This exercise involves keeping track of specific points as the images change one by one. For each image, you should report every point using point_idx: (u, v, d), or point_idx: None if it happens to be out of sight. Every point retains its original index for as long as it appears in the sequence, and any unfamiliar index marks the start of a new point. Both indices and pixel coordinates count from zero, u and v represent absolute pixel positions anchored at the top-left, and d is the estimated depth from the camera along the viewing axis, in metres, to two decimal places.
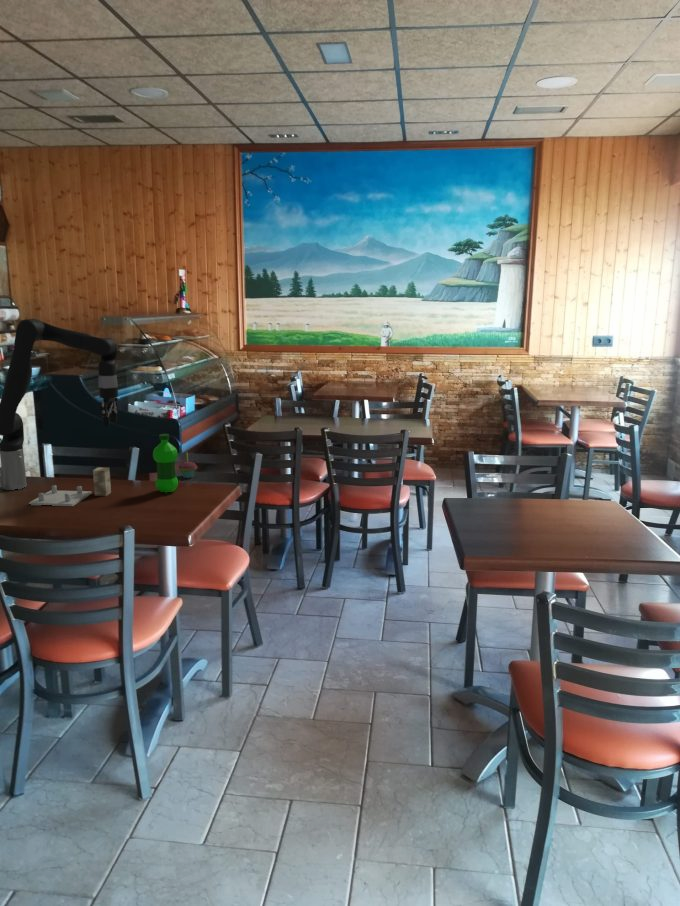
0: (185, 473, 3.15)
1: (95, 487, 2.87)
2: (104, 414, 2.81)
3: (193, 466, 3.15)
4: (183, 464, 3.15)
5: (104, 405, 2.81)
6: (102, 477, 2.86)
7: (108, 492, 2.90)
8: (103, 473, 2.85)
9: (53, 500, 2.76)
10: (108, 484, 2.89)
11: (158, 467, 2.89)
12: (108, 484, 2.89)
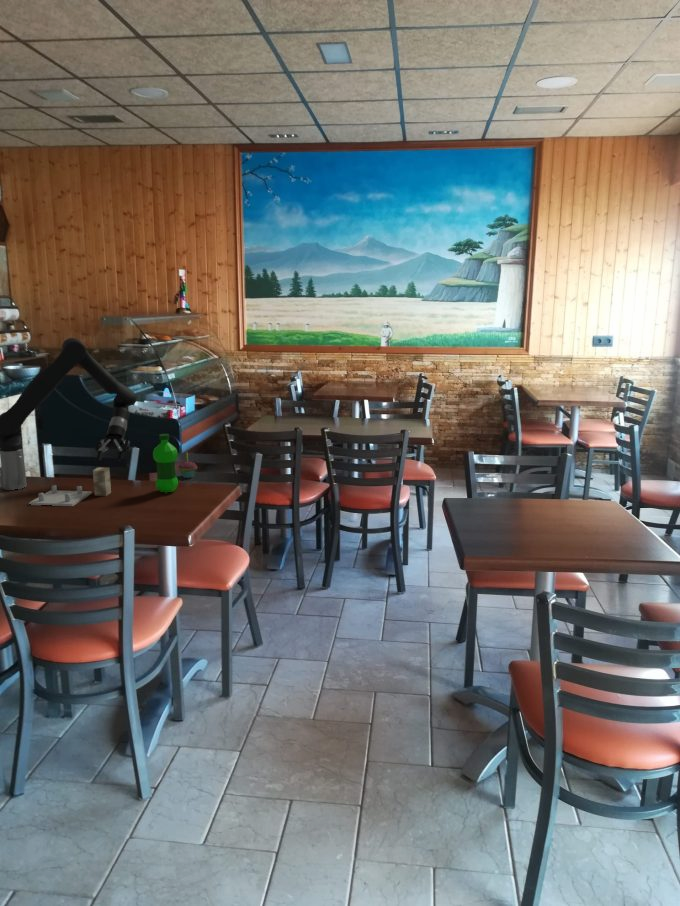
0: (185, 473, 3.15)
1: (95, 487, 2.87)
2: (127, 450, 2.98)
3: (193, 466, 3.15)
4: (183, 464, 3.15)
5: (129, 443, 3.00)
6: (102, 477, 2.86)
7: (108, 492, 2.90)
8: (103, 473, 2.85)
9: (53, 500, 2.76)
10: (108, 484, 2.89)
11: (158, 467, 2.89)
12: (108, 484, 2.89)
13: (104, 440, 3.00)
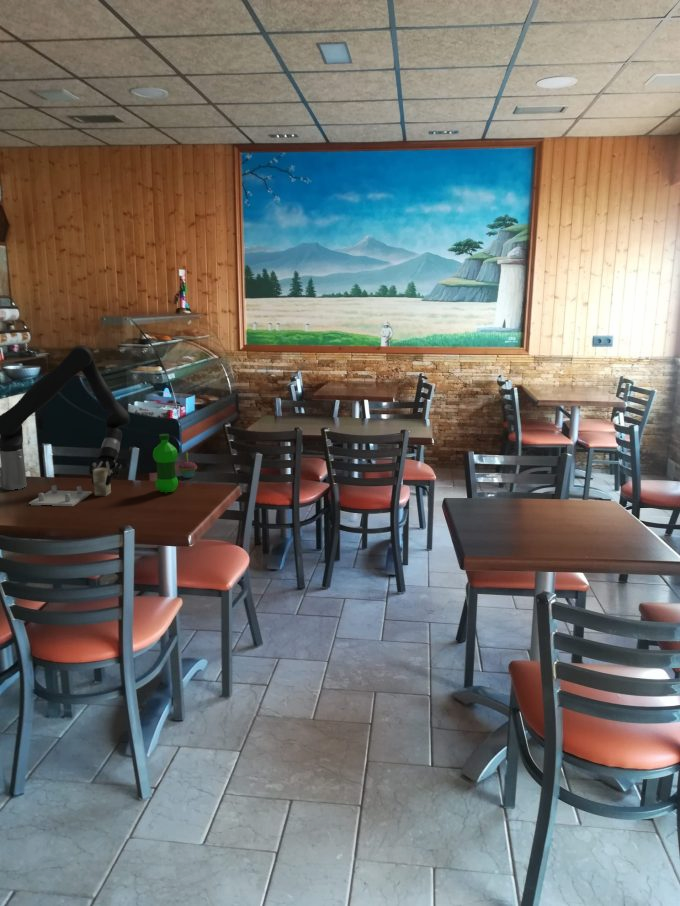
0: (185, 473, 3.15)
1: (95, 487, 2.87)
2: (116, 475, 2.90)
3: (193, 466, 3.15)
4: (183, 464, 3.15)
5: (120, 467, 2.92)
6: (102, 477, 2.86)
7: (108, 492, 2.90)
8: (103, 473, 2.85)
9: (53, 500, 2.76)
10: None
11: (158, 467, 2.89)
12: None
13: (96, 463, 2.92)
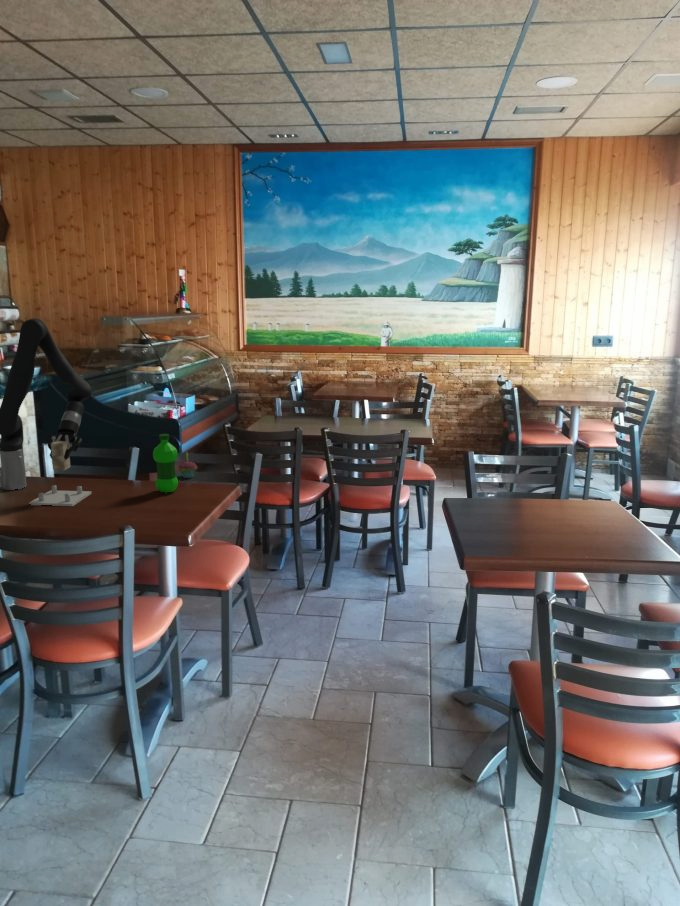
0: (185, 473, 3.15)
1: (53, 461, 2.77)
2: (75, 449, 2.80)
3: (193, 466, 3.15)
4: (183, 464, 3.15)
5: (80, 441, 2.82)
6: (60, 450, 2.76)
7: (67, 466, 2.80)
8: (61, 446, 2.75)
9: (53, 500, 2.76)
10: None
11: (158, 467, 2.89)
12: None
13: (55, 436, 2.82)
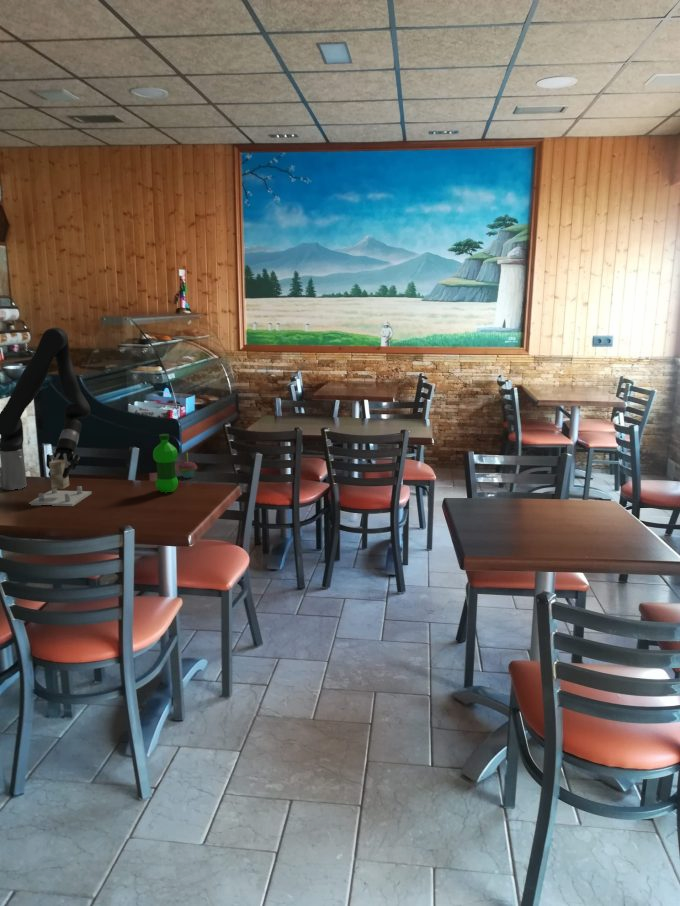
0: (185, 473, 3.15)
1: (52, 480, 2.78)
2: (74, 467, 2.81)
3: (193, 466, 3.15)
4: (183, 464, 3.15)
5: (78, 459, 2.83)
6: (58, 469, 2.77)
7: (66, 485, 2.81)
8: (60, 465, 2.76)
9: (53, 500, 2.76)
10: None
11: (158, 467, 2.89)
12: (66, 477, 2.80)
13: (54, 455, 2.83)
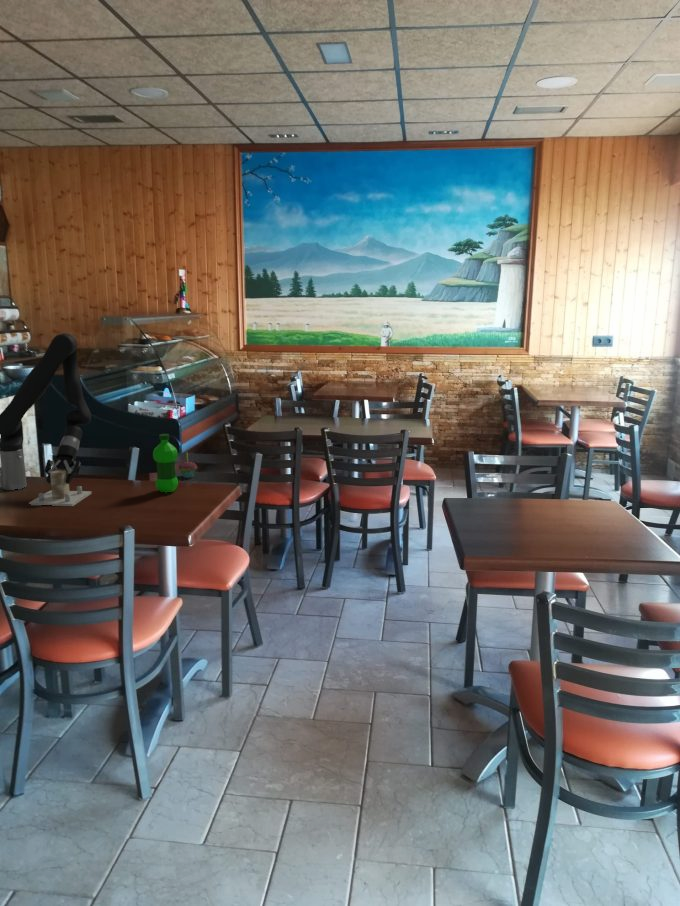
0: (185, 473, 3.15)
1: (53, 490, 2.79)
2: (77, 472, 2.82)
3: (193, 466, 3.15)
4: (183, 464, 3.15)
5: (80, 465, 2.84)
6: (59, 479, 2.78)
7: None
8: (61, 475, 2.77)
9: (53, 500, 2.76)
10: (66, 487, 2.81)
11: (158, 467, 2.89)
12: (66, 487, 2.81)
13: (54, 461, 2.83)
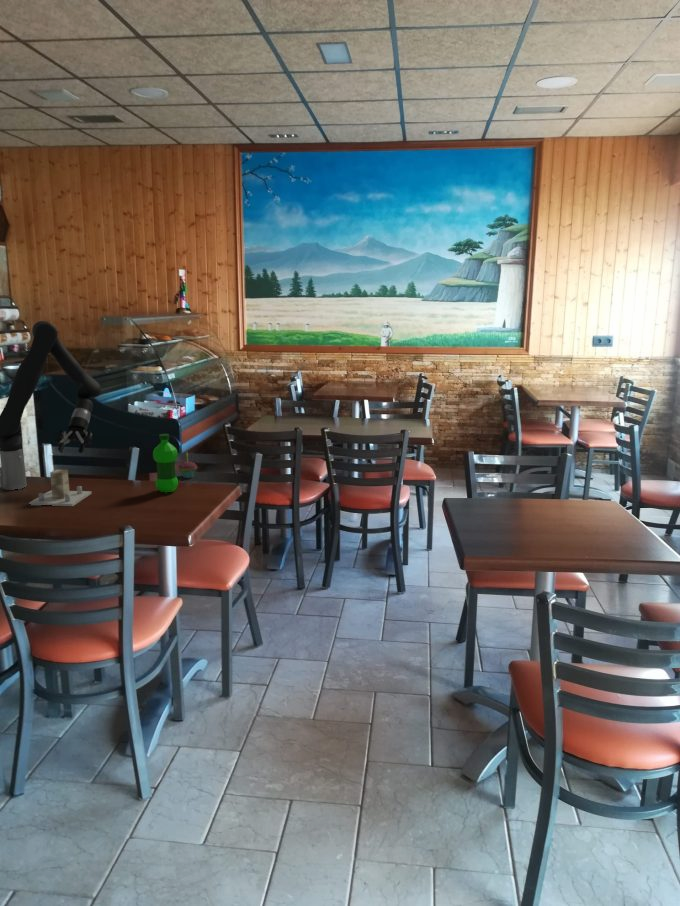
0: (185, 473, 3.15)
1: (53, 490, 2.79)
2: (89, 442, 2.92)
3: (193, 466, 3.15)
4: (183, 464, 3.15)
5: (91, 435, 2.94)
6: (59, 479, 2.78)
7: None
8: (61, 475, 2.77)
9: (53, 500, 2.76)
10: (66, 487, 2.81)
11: (158, 467, 2.89)
12: (66, 487, 2.81)
13: (66, 432, 2.94)
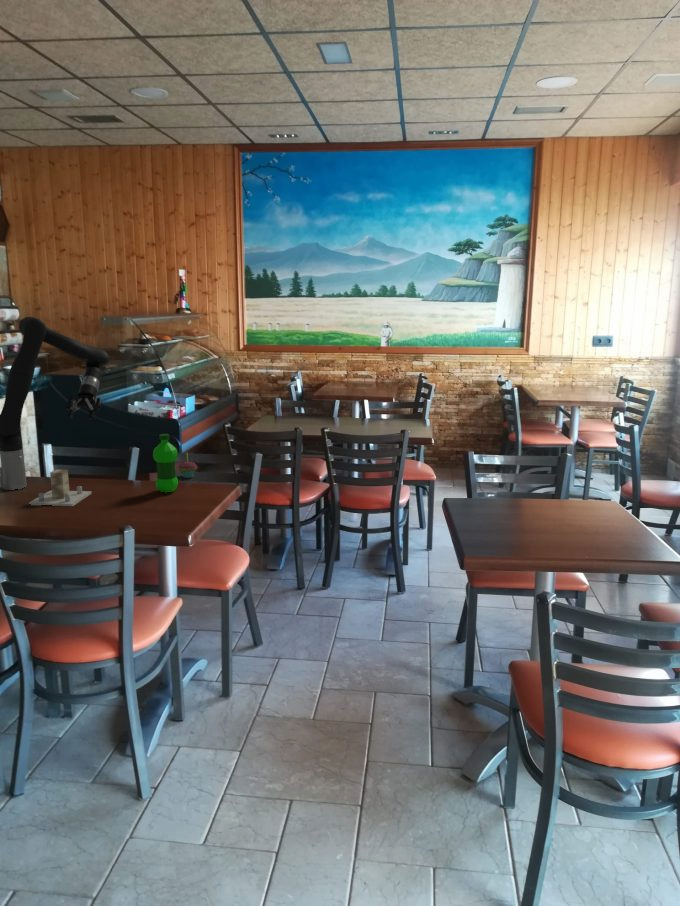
0: (185, 473, 3.15)
1: (53, 490, 2.79)
2: (99, 409, 2.96)
3: (193, 466, 3.15)
4: (183, 464, 3.15)
5: (100, 402, 2.98)
6: (59, 479, 2.78)
7: None
8: (61, 475, 2.77)
9: (53, 500, 2.76)
10: (66, 487, 2.81)
11: (158, 467, 2.89)
12: (66, 487, 2.81)
13: (75, 399, 2.98)
